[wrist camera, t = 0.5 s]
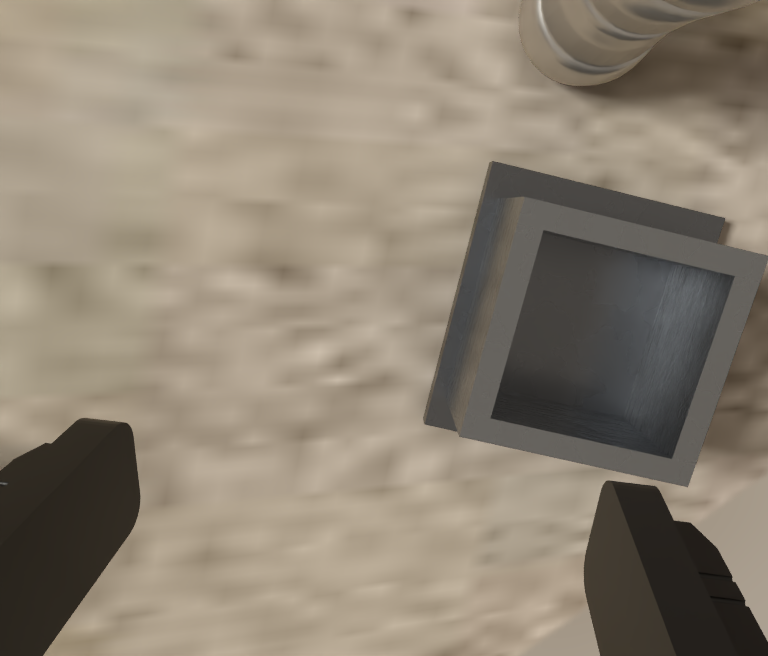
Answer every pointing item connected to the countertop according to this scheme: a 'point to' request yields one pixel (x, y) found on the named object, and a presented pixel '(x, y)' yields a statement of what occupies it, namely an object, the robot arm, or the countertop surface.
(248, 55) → the countertop surface
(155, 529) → the countertop surface
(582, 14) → the plastic bottle
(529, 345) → the rack socket
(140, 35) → the countertop surface
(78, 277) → the countertop surface
